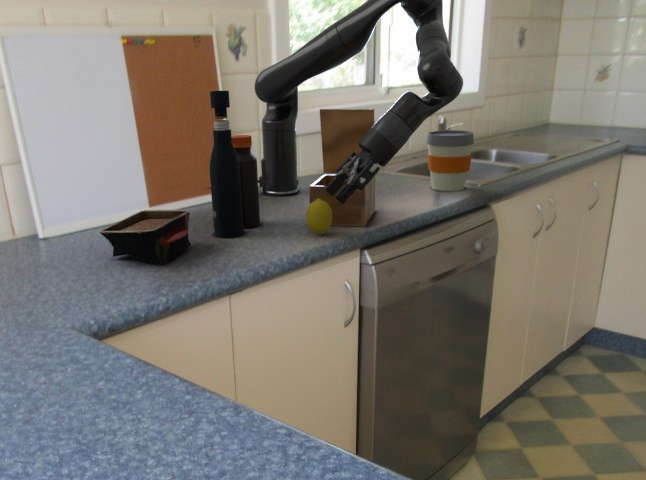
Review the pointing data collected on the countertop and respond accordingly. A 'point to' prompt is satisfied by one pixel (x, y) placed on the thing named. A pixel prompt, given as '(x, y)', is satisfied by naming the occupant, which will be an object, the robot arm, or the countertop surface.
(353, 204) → the chest
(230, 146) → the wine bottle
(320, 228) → the lemon
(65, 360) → the countertop surface
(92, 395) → the countertop surface
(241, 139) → the vinegar
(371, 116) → the lid
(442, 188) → the reusable coffee cup
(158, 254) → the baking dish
